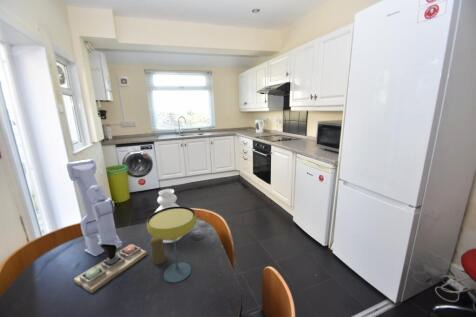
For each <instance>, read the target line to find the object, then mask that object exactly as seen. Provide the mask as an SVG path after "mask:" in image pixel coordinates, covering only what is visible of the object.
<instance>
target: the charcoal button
mask: <svg viewBox="0 0 476 317" xmlns="http://www.w3.org/2000/svg"><path fill="white" fill-rule="evenodd" d="M105 259H106V262H107V265H108V266H112V265H114V264H115V263H117V262H118V261H119V258H118V255H115V257H114V258H112V259H109V258H108V257H106V258H105Z"/></svg>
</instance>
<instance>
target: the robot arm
mask: <svg viewBox="0 0 476 317" xmlns="http://www.w3.org/2000/svg"><path fill="white" fill-rule="evenodd" d="M66 168H67V172H68V178H69V179H70V181H73V182H76V184H77V187H78V190H79V194H80V198H81V200H82V201H81V202H82V205H83V210H84V213H85V215H84V216H83V217H82V218H81V219H80V222H79V223H80V229H81V234H82V235H83V237H84V244H85V247H86V248H85V249H84V252H86V253H88V254H90V255H92V256H94V257H97V256H99V255H101V254H102V253H104V252H105V254H106V256H107V258H109V259H112V258H114V257H115V255H116V253H117V249H118V248H120V247H122V246H123V241H122V240H120V237H119V236H118V234H117V231H116V225H115V218H114V214H113V213H114V212H115V206H114V205H115V204H114V202H113V200H112V198H111V197H109V196H107V194H106V191H105V189H104V188H103V186H101V185H99V184H98V181H97V179H96V176H95V174H96V173H97V172H96V171H97V164H96V161H95V160H94V159H93V158H90V159H83V160H77V161H72V162H70V161H69V162H67V163H66Z"/></svg>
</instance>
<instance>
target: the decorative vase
mask: <svg viewBox="0 0 476 317" xmlns="http://www.w3.org/2000/svg"><path fill="white" fill-rule="evenodd" d="M158 195H159V196H158V197H157V200H156V201H157V203H158V204H159V206H158V208H157V209H156V210H155V211H154V213H155V212H157V211H159V210H162V209H165V208H169V207H179V206H180V205H178V204H177V203H176V201H177V200H178V197H177V195H176V194H175V189H173V188H166V189H161V190H159V191H158ZM182 238H183V236H181V237H179V238H177V240H175V242H177V241H179V240H180V239H182ZM171 243H174V241H172V240H170V239H169V240H163V243H162V244H171Z"/></svg>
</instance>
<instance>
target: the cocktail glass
mask: <svg viewBox="0 0 476 317" xmlns="http://www.w3.org/2000/svg"><path fill="white" fill-rule="evenodd" d="M196 223H197V215H196V212H195V210H193V209H192V208H190V207H187V206H180V205H179V207H169V208H165V209H162V210H159V211H157V212H155V211H154V213H152V214H151V215H150V216H149V217H148V218H147V220H146V229H147V232H148V234H149V235H150V236H152V238H153V237H155V238H158V239H163V240H169V239H170V240H172V241H174V242H173V246H174V248H173V249H174V257H175V258H174V260H175V263H173V264H171V265H169V266H168V267H167V268H165V270H164V272H163V278H164V280H165V281H166V282H168V283H171V284H172V283H180V282H183V281H184V280H186V279H187V278H188V277H189V276H190V275H191V272H192V267H191V266H190V264H189V263H187V262H181V261H180V262H179V261H178V255H177V246H176V241H175V240H177V238H179V237H181V236H182V237H183V236H185V235H187V234H188V233H189V232H191V231H192V230H193V229H194V227H195V225H196ZM182 237H181V238H182ZM177 241H178V240H177Z"/></svg>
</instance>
